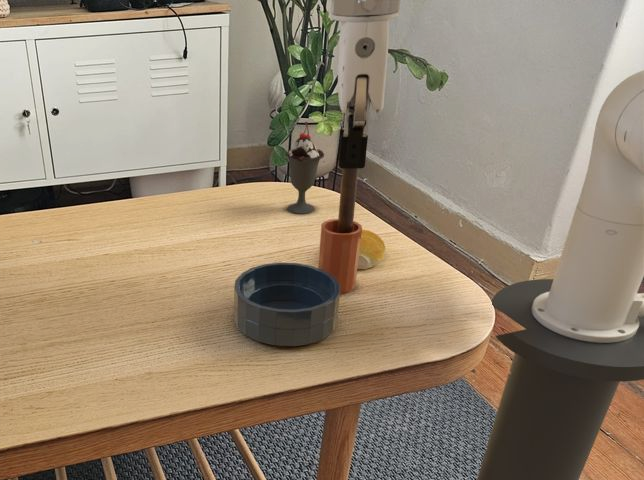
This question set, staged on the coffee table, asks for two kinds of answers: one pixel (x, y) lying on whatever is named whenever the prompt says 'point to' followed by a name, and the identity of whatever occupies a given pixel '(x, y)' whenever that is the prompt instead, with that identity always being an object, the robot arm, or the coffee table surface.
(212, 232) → the coffee table surface
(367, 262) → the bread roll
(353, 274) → the crock
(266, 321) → the bowl
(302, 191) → the sundae
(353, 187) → the stirring stick
